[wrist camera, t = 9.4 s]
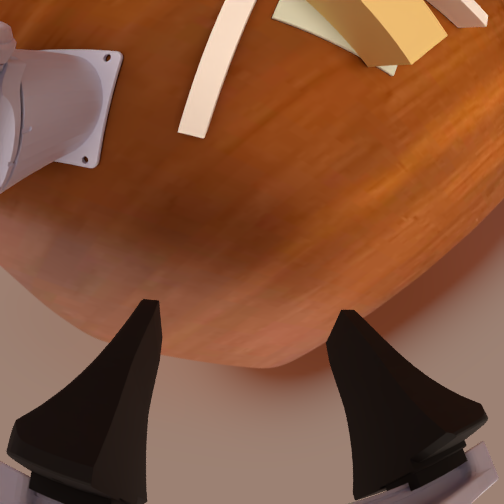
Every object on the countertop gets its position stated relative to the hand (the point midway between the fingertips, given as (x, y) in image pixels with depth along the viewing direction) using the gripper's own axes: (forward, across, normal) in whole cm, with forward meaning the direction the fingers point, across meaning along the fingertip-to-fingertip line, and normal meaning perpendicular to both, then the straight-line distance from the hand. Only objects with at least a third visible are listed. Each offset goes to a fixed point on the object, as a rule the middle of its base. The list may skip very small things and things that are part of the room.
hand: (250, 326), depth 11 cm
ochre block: (+10, -5, -16) cm, 19 cm away
